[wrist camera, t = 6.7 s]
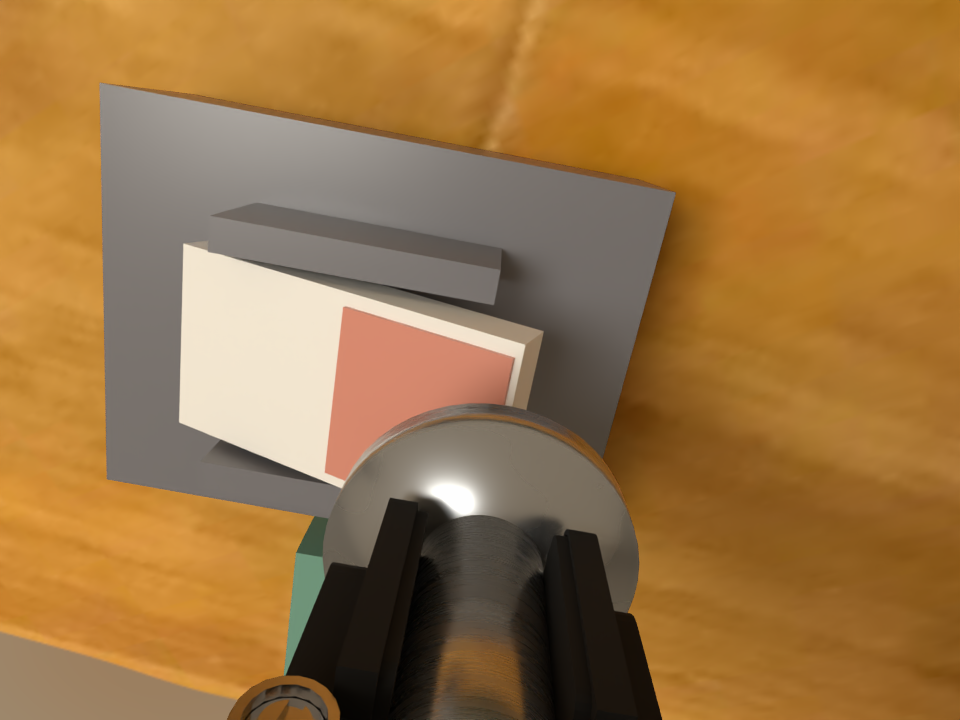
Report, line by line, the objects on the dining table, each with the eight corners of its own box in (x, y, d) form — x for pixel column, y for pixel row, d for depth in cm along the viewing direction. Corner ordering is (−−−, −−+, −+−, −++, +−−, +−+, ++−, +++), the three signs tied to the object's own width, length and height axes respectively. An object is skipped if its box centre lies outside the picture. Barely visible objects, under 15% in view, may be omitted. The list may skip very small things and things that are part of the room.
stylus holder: (487, 524, 31) (484, 586, 27) (460, 651, 34) (453, 725, 30) (324, 495, 31) (296, 552, 27) (310, 625, 34) (281, 696, 30)
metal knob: (627, 363, 16) (919, 916, 5) (572, 561, 18) (686, 1284, 7) (389, 319, 16) (99, 782, 5) (360, 524, 18) (111, 1197, 7)
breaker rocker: (543, 331, 17) (523, 346, 16) (501, 518, 19) (480, 548, 18) (222, 239, 21) (179, 244, 19) (214, 407, 23) (175, 423, 21)
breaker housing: (638, 179, 26) (709, 204, 17) (561, 482, 30) (584, 628, 21) (190, 94, 25) (17, 72, 16) (182, 413, 30) (44, 533, 21)
